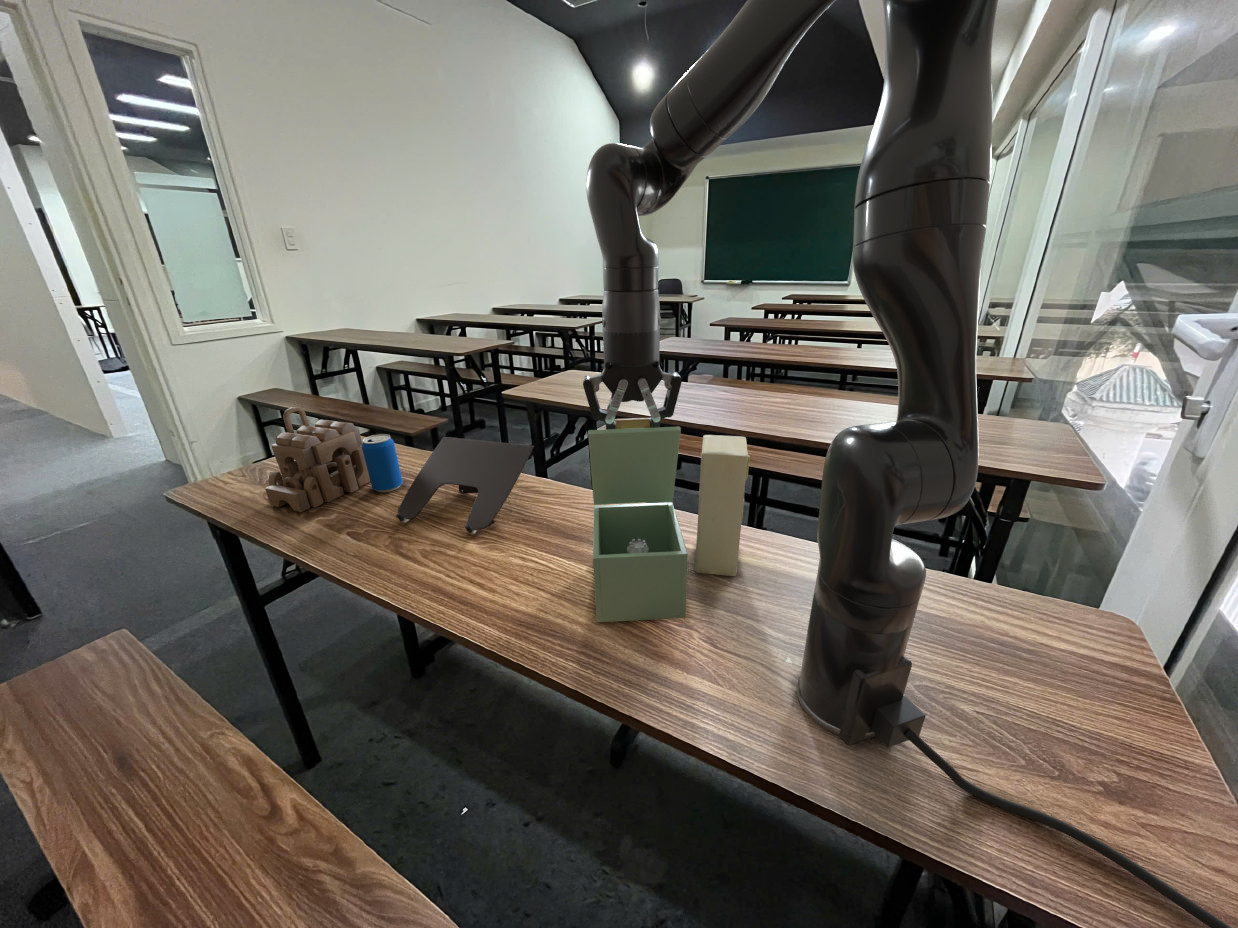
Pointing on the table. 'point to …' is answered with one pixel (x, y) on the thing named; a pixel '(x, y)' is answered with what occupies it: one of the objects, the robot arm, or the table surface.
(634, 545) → the rook chess piece
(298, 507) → the wooden puzzle
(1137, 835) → the table surface
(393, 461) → the beverage can
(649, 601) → the chest
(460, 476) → the laptop tray
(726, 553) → the toy refrigerator
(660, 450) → the lid
